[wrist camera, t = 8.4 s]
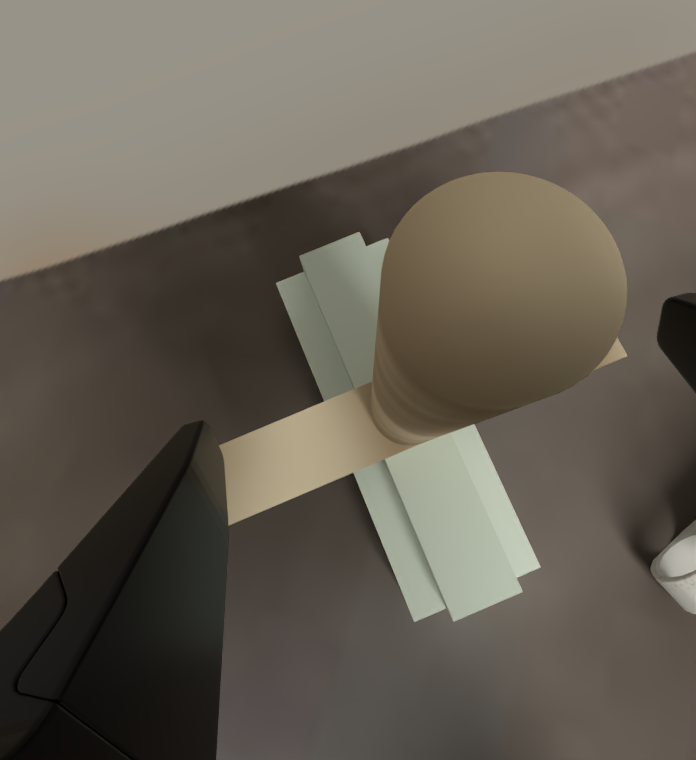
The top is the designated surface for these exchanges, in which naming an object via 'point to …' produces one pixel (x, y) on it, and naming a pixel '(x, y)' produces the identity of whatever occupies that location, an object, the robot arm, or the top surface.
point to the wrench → (679, 568)
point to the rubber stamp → (454, 333)
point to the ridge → (409, 452)
